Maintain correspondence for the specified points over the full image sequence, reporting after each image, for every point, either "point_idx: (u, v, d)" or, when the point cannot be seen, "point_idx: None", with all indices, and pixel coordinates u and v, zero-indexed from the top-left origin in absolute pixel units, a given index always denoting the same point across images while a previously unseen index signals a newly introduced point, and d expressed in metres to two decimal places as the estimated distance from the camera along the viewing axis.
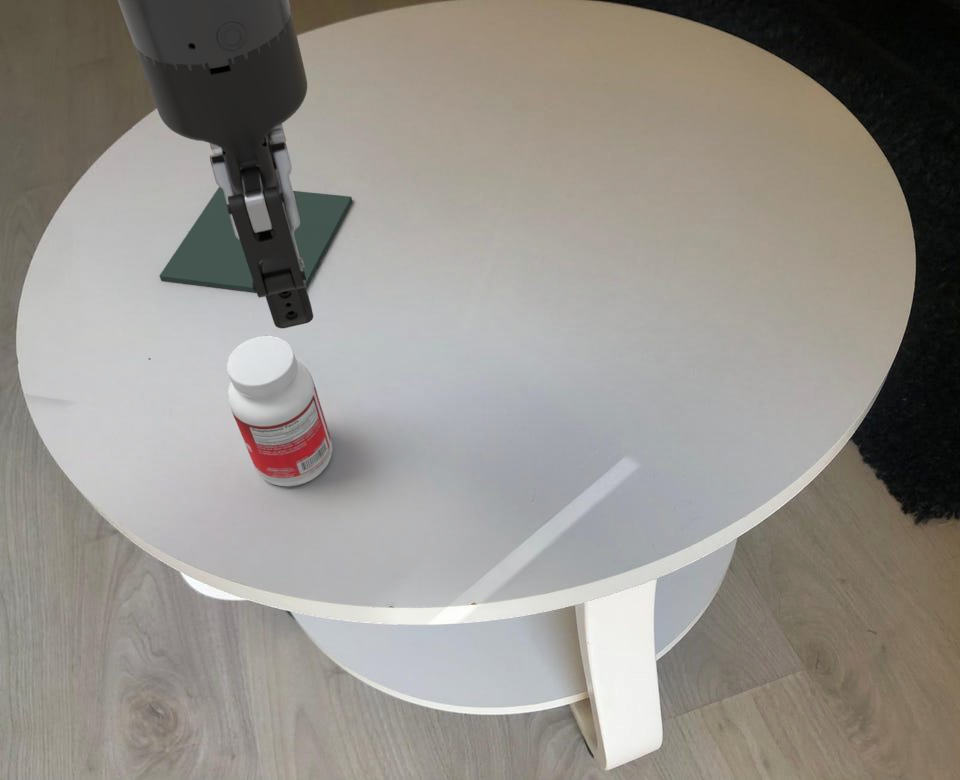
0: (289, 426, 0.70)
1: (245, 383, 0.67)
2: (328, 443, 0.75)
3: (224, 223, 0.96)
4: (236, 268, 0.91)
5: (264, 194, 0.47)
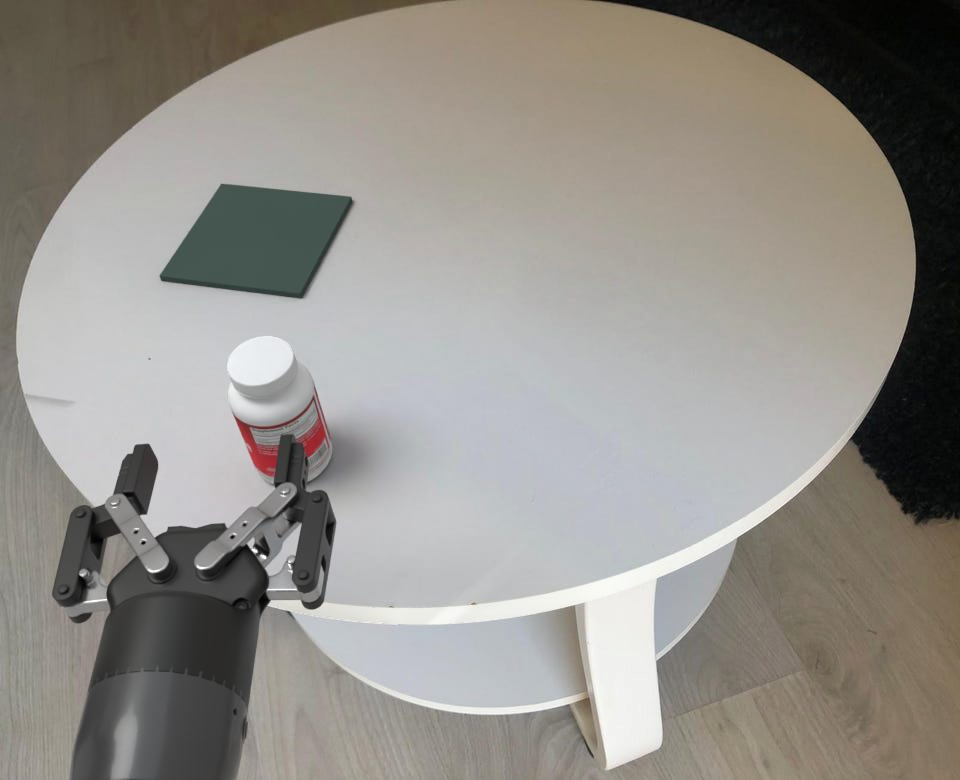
0: (289, 426, 0.70)
1: (245, 383, 0.67)
2: (328, 443, 0.75)
3: (224, 223, 0.96)
4: (236, 268, 0.91)
5: (70, 616, 0.52)
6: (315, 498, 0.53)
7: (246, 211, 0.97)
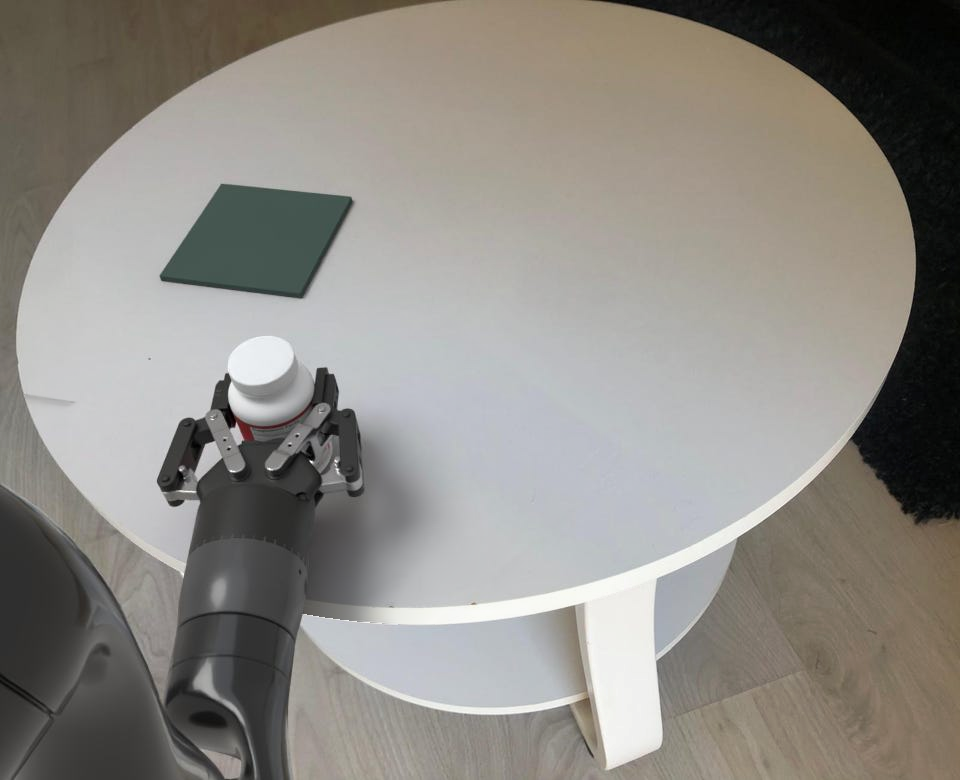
0: (289, 426, 0.70)
1: (246, 382, 0.67)
2: (328, 443, 0.75)
3: (224, 223, 0.96)
4: (236, 268, 0.91)
5: (168, 500, 0.67)
6: (345, 414, 0.69)
7: (246, 211, 0.97)
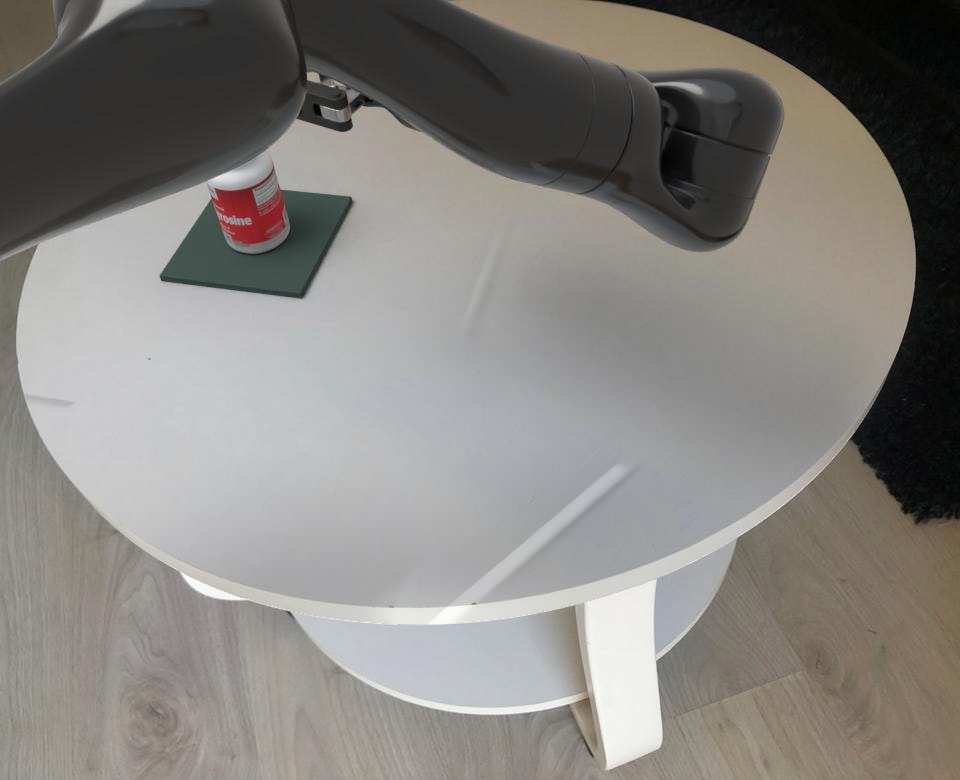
0: (273, 175, 0.89)
1: None
2: None
3: None
4: (236, 268, 0.91)
5: (346, 121, 0.65)
6: None
7: None
